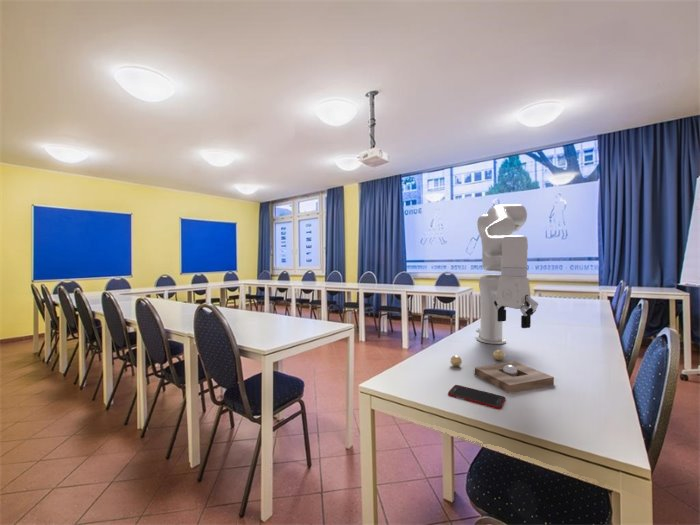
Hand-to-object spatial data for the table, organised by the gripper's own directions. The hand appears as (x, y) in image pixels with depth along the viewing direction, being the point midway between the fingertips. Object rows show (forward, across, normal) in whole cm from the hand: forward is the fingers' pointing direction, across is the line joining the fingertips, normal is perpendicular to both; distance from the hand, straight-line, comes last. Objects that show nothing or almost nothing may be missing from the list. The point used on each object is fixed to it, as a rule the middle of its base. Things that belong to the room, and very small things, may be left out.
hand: (513, 324), depth 102 cm
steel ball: (+16, 0, -1) cm, 16 cm away
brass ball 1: (+16, -16, -11) cm, 25 cm away
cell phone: (+19, +7, -20) cm, 29 cm away
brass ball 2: (+16, -16, +9) cm, 24 cm away
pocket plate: (+18, 0, -1) cm, 18 cm away
